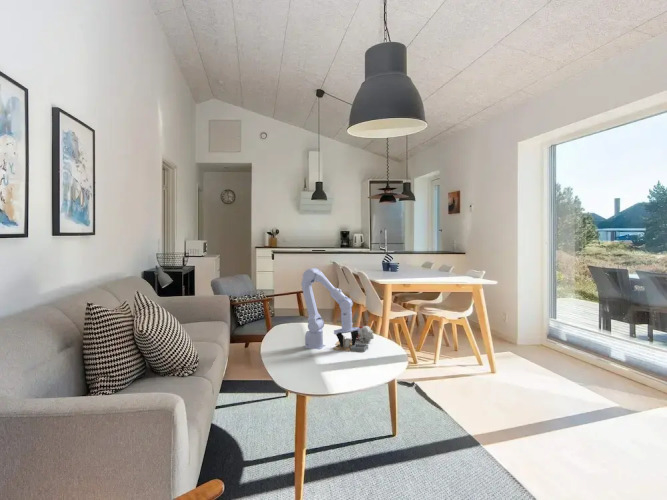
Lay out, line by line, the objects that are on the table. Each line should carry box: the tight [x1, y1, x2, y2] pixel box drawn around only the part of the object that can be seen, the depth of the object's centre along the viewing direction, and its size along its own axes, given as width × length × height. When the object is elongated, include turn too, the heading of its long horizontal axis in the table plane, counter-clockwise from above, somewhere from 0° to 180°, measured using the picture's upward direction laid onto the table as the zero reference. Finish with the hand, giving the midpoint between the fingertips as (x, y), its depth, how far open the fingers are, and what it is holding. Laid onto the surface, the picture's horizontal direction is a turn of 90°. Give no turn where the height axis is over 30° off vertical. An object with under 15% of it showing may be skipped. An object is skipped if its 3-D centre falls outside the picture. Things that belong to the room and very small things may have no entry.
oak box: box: [333, 344, 353, 352], centre depth 234 cm, size 9×9×2 cm
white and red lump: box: [356, 325, 374, 343], centre depth 250 cm, size 9×11×15 cm
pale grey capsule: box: [344, 337, 351, 348], centre depth 232 cm, size 3×3×6 cm
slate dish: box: [351, 342, 369, 353], centre depth 231 cm, size 7×7×2 cm
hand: (347, 345), depth 232 cm, fingers open, 6 cm apart
